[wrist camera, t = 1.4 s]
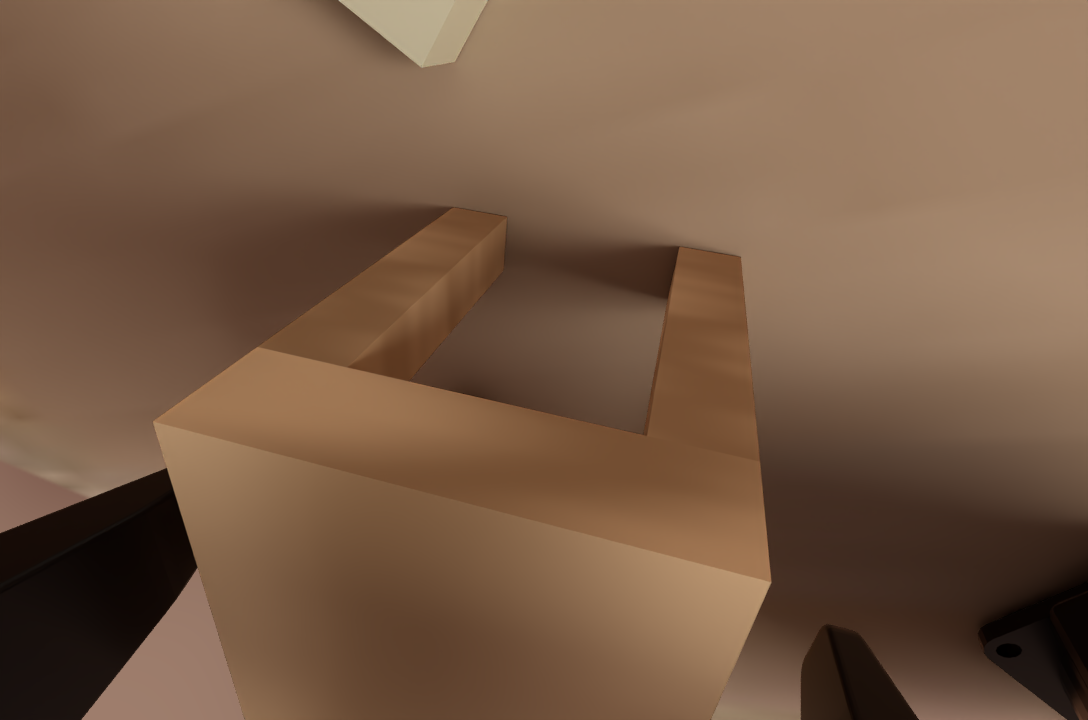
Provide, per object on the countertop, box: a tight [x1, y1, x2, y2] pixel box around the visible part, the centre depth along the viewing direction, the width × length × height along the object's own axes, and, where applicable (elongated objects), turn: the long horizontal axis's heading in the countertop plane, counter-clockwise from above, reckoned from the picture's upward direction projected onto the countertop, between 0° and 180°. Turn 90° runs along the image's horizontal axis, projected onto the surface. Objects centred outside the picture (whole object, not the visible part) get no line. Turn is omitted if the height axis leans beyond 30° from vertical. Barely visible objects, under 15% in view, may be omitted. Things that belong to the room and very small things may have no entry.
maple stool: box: [153, 207, 771, 720], centre depth 10 cm, size 6×6×8 cm
